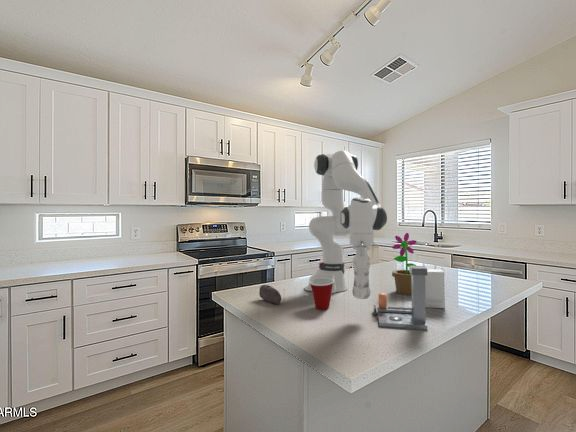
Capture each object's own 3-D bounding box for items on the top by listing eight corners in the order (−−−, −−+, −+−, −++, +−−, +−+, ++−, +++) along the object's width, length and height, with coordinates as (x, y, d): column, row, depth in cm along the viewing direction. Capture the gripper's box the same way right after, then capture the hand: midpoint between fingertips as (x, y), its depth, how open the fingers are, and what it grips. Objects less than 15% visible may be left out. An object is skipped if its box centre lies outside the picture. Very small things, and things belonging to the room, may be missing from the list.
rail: (373, 315, 121) (373, 308, 121) (373, 311, 126) (373, 305, 126) (425, 318, 117) (425, 311, 117) (423, 314, 121) (422, 308, 121)
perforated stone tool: (285, 305, 136) (285, 289, 136) (275, 307, 133) (275, 291, 133) (267, 297, 149) (267, 283, 148) (258, 299, 146) (258, 285, 145)
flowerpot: (416, 288, 161) (416, 232, 160) (426, 296, 146) (426, 234, 146) (389, 288, 162) (388, 232, 162) (395, 296, 148) (395, 234, 147)
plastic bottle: (350, 296, 120) (350, 245, 119) (366, 295, 121) (367, 245, 120) (355, 301, 114) (355, 248, 113) (372, 300, 114) (373, 247, 114)
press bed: (379, 326, 109) (378, 268, 109) (377, 316, 120) (377, 263, 120) (429, 330, 105) (428, 270, 105) (423, 319, 116) (422, 264, 116)
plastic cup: (304, 307, 132) (303, 280, 132) (321, 302, 139) (321, 276, 139) (322, 313, 124) (322, 284, 124) (339, 308, 131) (339, 280, 131)
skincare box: (442, 304, 134) (442, 269, 133) (445, 309, 127) (445, 272, 127) (422, 302, 136) (421, 268, 136) (423, 307, 130) (423, 271, 130)
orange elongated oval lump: (377, 311, 121) (377, 295, 121) (377, 309, 125) (377, 292, 124) (388, 312, 120) (388, 295, 120) (387, 309, 124) (387, 293, 123)
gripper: (370, 244, 105) (370, 283, 106) (369, 237, 125) (369, 270, 126) (352, 243, 107) (352, 282, 108) (353, 237, 127) (353, 269, 127)
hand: (361, 275), depth 117 cm, fingers closed on plastic bottle, 6 cm apart
